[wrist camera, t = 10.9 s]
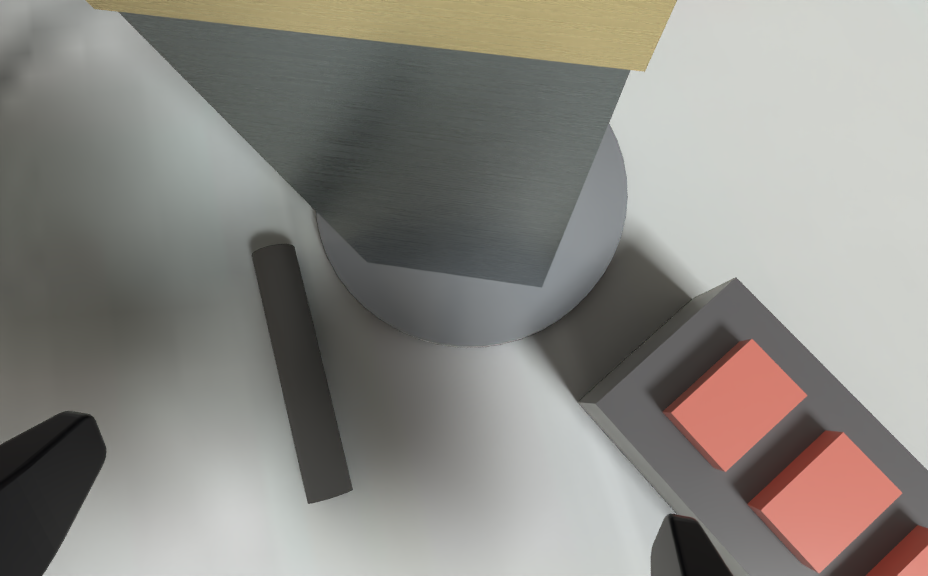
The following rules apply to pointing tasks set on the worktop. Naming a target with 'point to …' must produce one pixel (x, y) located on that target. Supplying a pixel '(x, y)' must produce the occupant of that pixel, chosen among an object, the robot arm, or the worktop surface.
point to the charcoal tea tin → (418, 112)
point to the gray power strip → (764, 446)
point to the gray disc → (486, 301)
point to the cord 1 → (301, 373)
